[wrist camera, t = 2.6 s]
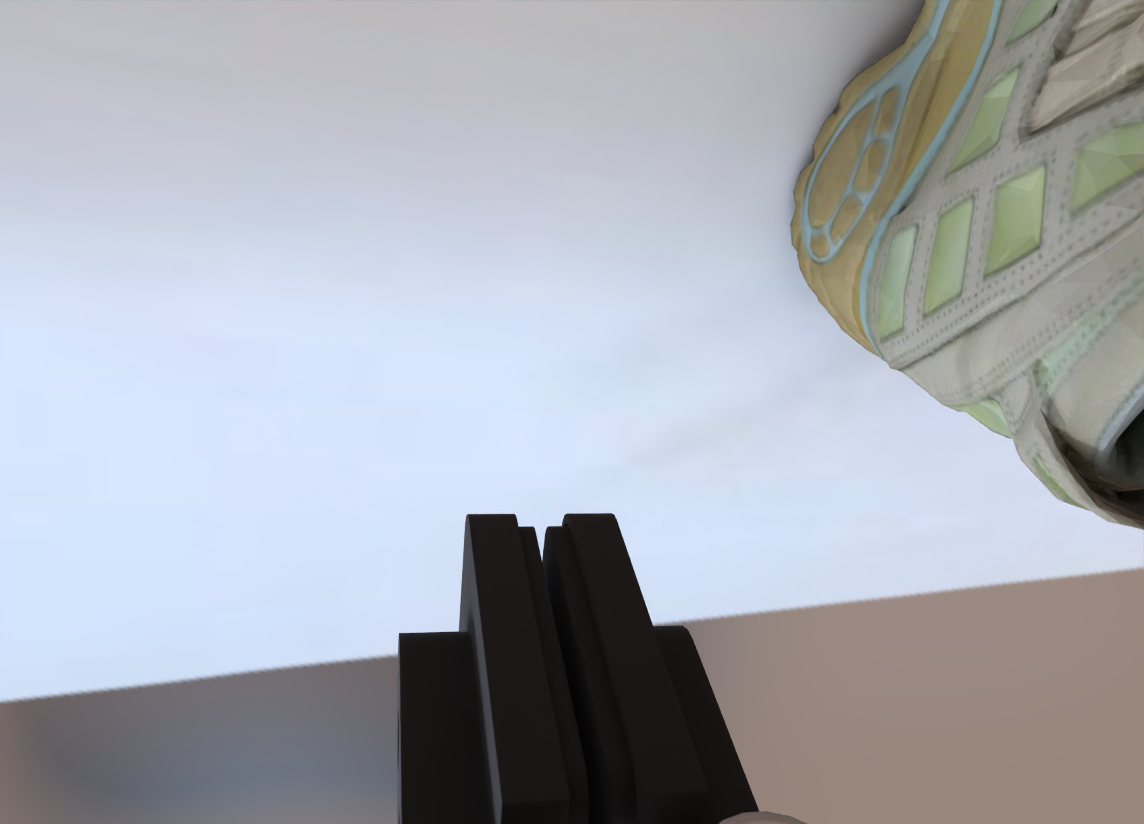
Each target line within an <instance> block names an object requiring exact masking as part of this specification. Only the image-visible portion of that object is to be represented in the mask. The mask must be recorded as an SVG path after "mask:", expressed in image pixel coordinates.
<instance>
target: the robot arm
mask: <svg viewBox="0 0 1144 824" xmlns="http://www.w3.org/2000/svg"><path fill="white" fill-rule="evenodd" d="M397 689H398V690H397V824H806V823H804V822H802V821H800V820H798V819H795V818H793V817H791V816H786V815H781V814H776V813H772V812H767V811H766V812H759V809H758V807H757V804H756V802H755V799H754V796H753V794H752V791H751V789H750V786H749V783H748V781H747V778H746V776H745V773H744V771H743V768H742V765H741V763H740V760H739V758H738V755H737V752H736V750H735V747H734V745H733V742H732V739H731V737H730V734H729V732H728V729H727V727H726V724H725V721H724V719H723V716H722V714H721V711H720V708H719V706H718V703H717V701H716V698H715V695H714V693H713V690H712V688H711V685H710V683H709V680H708V678H707V675H706V672H705V670H704V667H703V664H702V662H701V659H700V657H699V654H698V651H697V649H696V646H695V644H694V641H693V639H692V637H691V635H690V633H689V631H688V630H687V629H686V628H685V627H684V626H653V625H652V622H651V619H650V616H649V613H648V610H647V607H646V604H645V601H644V598H643V596H642V593H641V590H640V587H639V584H638V581H637V578H636V575H635V572H634V569H633V566H632V563H631V560H630V557H629V554H628V552H627V549H626V546H625V543H624V540H623V537H622V534H621V531H620V528H619V525H618V522H617V519H616V517H615V515H614V514H612V513H601V514H566V515H565V516H564V519H563V522H562V526H548V527H547V529H546V533H545V541H544V550H543V560H541V555H540V550H539V546H538V541H537V536H536V532H535V528H534V527H518V522H517V518H516V515H515V514H467V516H466V522H465V536H464V553H463V570H462V587H461V604H460V621H459V632H429V633H399V645H398V688H397Z"/></svg>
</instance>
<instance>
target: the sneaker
mask: <svg viewBox="0 0 1144 824" xmlns="http://www.w3.org/2000/svg"><path fill="white" fill-rule="evenodd" d="M793 193H794V198H795V203H796V210H795V213H794V216H793V219H792V222H791V224H790V225H791V237H792V245H793V247H794V248H795V249H796V250H797V252H798V253H797V256H798V261H799V266H800V270H801V272H802V274H803V276H804V278H805V280H806V282H807V284H808V286H809V287H810V288H811V289H812V291H813V292H814V293H815V294H816V296H817V297H818V300H819V302H820V303H821V304H822V305H823V306H824V308H825V309H826V310H827V311H828V312H829V313H830V315H831V316H832V317H833V318H834V319H835V321H836V322H837V323H838V325H839V326H840V328H841V329H842V330H843V331H844V332H845V333H847V334H848V335H849V336H850V337H852V338H853V339H854V340H855V341H857V342H858V343H859V344H860V345H861V346H863V347H864V348H865V349H866V350H868V351H870V352H872V353H873V354H875V355H877V356H879V357H880V358H881V359H882V360H884V361H886V362H887V363H888V365H889V366H890V368H892V369H895V370H898V371H901V372H903V373H904V374H906V375H907V376H908V377H909V378H911V379H912V380H913V381H914V382H915V383H917V384H918V385H919V386H920V387H921V388H923V389H924V390H925V391H926V392H927V393H929V394H930V395H931V396H932V397H934V398H935V399H936V400H937V401H939V402H940V403H941V404H942V405H945V406H947V407H949V408H951V409H954V410H956V411H960V412H966V413H968V414H970V415H971V416H972V417H974V418H975V419H976V420H978V421H979V422H980V423H982V424H983V425H984V426H986V427H987V428H988V429H990V430H991V431H993V432H995V433H998V434H1000V435H1002V436H1005V437H1007V438H1011V439H1013V441H1014V444H1015V447H1016V450H1017V453H1018V455H1019V456H1020V458H1021V460H1022V462H1023V463H1024V464H1025V465H1026V466H1027V467H1028V468H1029V469H1030V470H1031V472H1032V473H1033V474H1034V475H1035V476H1036V477H1037V478H1038V479H1039V480H1040V481H1041V482H1042V483H1043V484H1044V485H1045V487H1046V488H1047V489H1048V490H1049V491H1050V492H1051V493H1052V494H1053V495H1054V496H1055V497H1056V498H1057V499H1059V500H1061V501H1063V502H1065V503H1068V504H1071V505H1074V506H1077V507H1080V508H1083V509H1086V510H1089V511H1092V512H1093V513H1095V514H1097V515H1098V516H1100V517H1101V518H1103V519H1104V520H1106V521H1108V522H1112V523H1117V524H1121V525H1125V526H1130V527H1134V528H1138V529H1143V530H1144V0H925V4H924V6H923V8H922V10H921V12H920V14H919V16H918V18H917V20H916V22H915V24H914V26H913V28H912V30H911V32H910V34H909V36H908V38H907V40H906V41H905V42H903V43H902V44H901V45H899V46H898V47H897V48H896V49H894V50H893V51H892V52H890V53H889V54H888V55H886V56H885V57H884V58H882V59H881V60H879V61H878V62H876V63H875V64H873V65H871V66H870V67H868V68H867V69H865V70H864V71H862V72H860V73H859V74H858V75H857V76H856V77H855V78H854V79H853V80H852V81H851V82H850V83H849V84H848V85H847V86H846V87H845V88H844V89H843V92H842V94H841V97H840V100H839V102H838V105H837V107H836V109H835V110H834V112H833V113H832V114H831V115H830V117H829V118H828V119H827V121H826V122H825V123H824V124H823V126H822V128H821V130H820V132H819V134H818V136H817V138H816V140H815V142H814V144H813V162H811V163H810V164H809V165H808V166H807V167H806V168H805V169H804V170H803V171H802V172H800V175H799V178H798V180H797V183H796V186H795V188H794V191H793Z"/></svg>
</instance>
